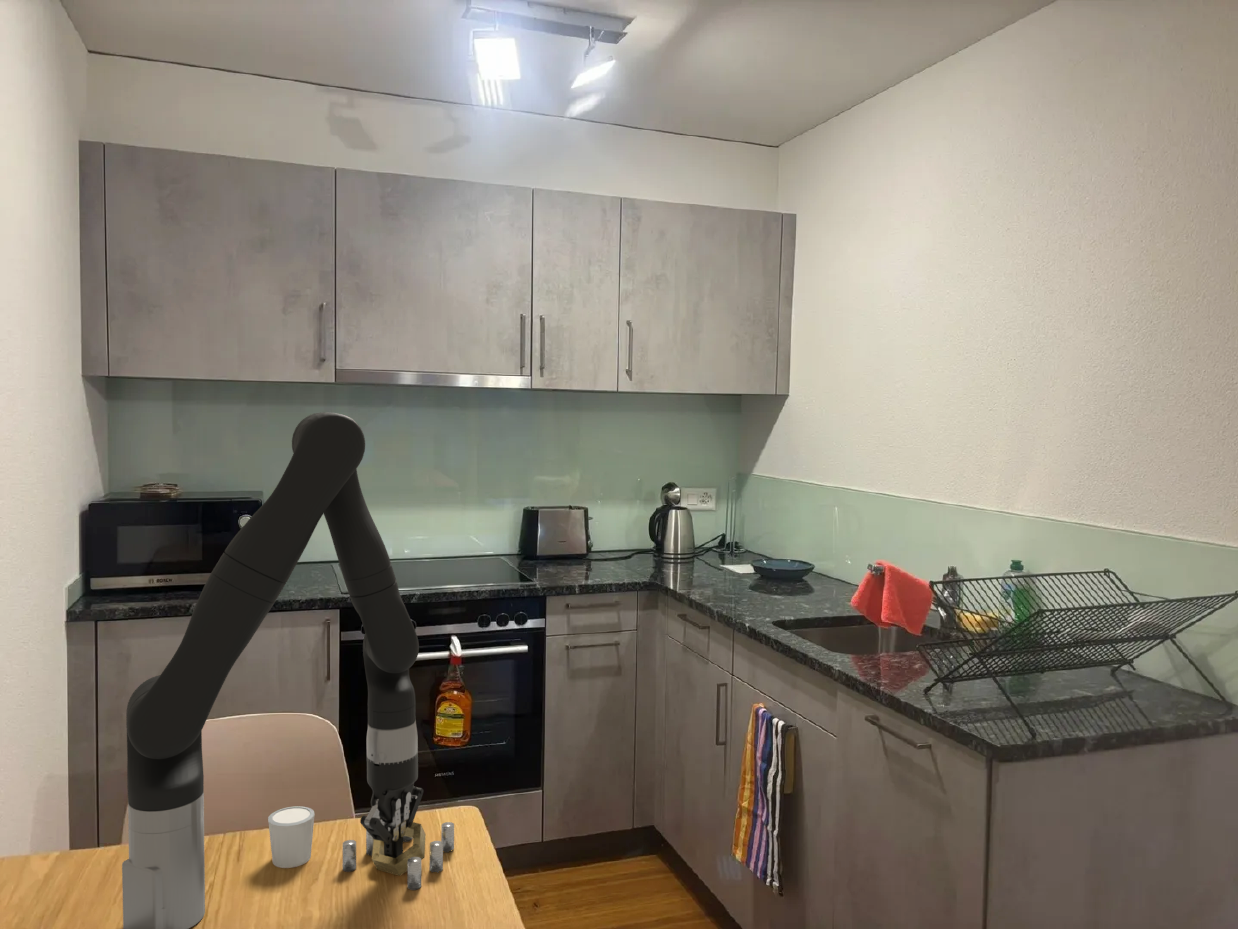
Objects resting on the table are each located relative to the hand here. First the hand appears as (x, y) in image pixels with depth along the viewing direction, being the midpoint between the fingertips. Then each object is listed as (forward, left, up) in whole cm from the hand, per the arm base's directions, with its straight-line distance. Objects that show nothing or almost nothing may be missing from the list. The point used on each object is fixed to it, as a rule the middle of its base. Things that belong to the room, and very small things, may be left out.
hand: (393, 861), depth 140 cm
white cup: (-4, +16, -1) cm, 17 cm away
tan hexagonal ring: (+2, 0, +1) cm, 2 cm away
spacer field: (+3, 0, -1) cm, 3 cm away
